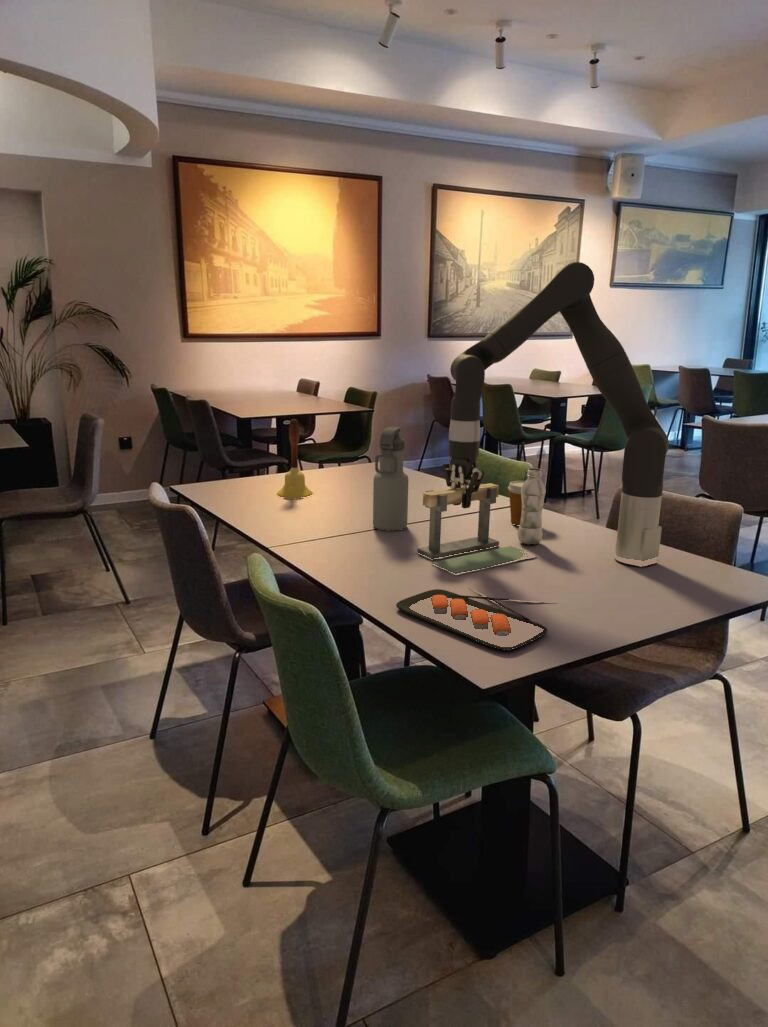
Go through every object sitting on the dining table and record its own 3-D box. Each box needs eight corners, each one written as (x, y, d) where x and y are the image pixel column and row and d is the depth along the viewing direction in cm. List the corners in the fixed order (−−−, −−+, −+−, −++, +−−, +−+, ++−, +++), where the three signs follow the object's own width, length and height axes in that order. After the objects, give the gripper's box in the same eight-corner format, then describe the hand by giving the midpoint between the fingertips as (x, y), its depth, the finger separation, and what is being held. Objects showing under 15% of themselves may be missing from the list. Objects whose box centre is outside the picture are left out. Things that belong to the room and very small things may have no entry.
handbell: (279, 489, 247) (278, 416, 240) (315, 490, 246) (315, 417, 240) (273, 498, 235) (271, 421, 228) (310, 499, 234) (310, 422, 228)
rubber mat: (536, 557, 179) (536, 555, 179) (455, 575, 165) (455, 573, 165) (511, 548, 186) (511, 545, 186) (431, 564, 172) (431, 562, 172)
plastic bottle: (542, 541, 193) (548, 468, 188) (540, 548, 187) (546, 472, 182) (518, 539, 195) (523, 466, 190) (515, 546, 188) (520, 471, 183)
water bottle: (400, 533, 198) (403, 432, 190) (367, 529, 201) (368, 429, 193) (411, 524, 207) (414, 427, 200) (379, 520, 210) (381, 425, 203)
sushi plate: (389, 612, 145) (389, 594, 144) (482, 578, 165) (483, 563, 164) (506, 661, 125) (507, 641, 124) (596, 616, 145) (597, 598, 144)
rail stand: (499, 546, 187) (502, 486, 183) (431, 560, 175) (434, 496, 171) (483, 541, 192) (486, 482, 188) (417, 554, 180) (419, 491, 176)
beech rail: (498, 496, 185) (498, 485, 184) (430, 507, 173) (430, 495, 172) (490, 494, 188) (491, 483, 187) (422, 504, 176) (423, 492, 175)
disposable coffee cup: (524, 530, 203) (527, 489, 200) (498, 523, 210) (501, 483, 207) (545, 525, 209) (548, 484, 205) (520, 518, 216) (522, 479, 213)
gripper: (495, 440, 173) (491, 510, 177) (457, 433, 184) (455, 498, 188) (471, 443, 169) (467, 514, 173) (434, 435, 180) (432, 502, 184)
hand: (461, 505), depth 181 cm, fingers closed on beech rail, 3 cm apart
